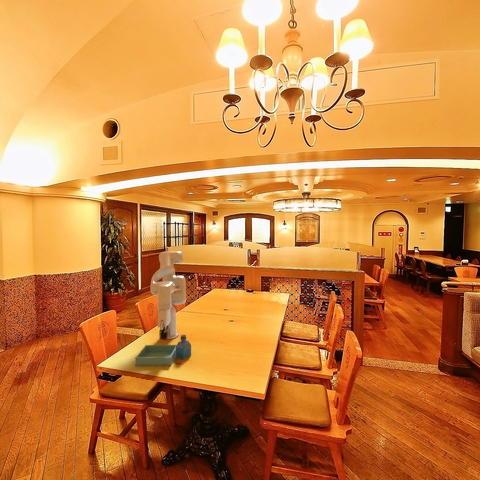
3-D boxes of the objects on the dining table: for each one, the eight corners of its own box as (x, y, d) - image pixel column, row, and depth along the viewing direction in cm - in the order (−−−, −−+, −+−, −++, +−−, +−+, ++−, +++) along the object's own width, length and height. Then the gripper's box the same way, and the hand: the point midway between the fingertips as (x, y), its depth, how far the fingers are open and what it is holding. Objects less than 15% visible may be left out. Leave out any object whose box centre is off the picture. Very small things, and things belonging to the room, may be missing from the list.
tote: (145, 352, 154) (145, 345, 154) (177, 351, 154) (177, 344, 154) (135, 365, 139) (135, 357, 139) (171, 365, 139) (170, 357, 139)
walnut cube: (162, 335, 149) (161, 327, 148) (170, 335, 149) (170, 327, 149) (159, 339, 144) (159, 330, 144) (168, 339, 144) (168, 330, 144)
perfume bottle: (176, 356, 149) (175, 336, 148) (183, 352, 154) (183, 332, 154) (183, 359, 145) (183, 338, 145) (191, 355, 151) (190, 335, 150)
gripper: (162, 301, 154) (163, 331, 155) (153, 310, 137) (153, 343, 138) (174, 301, 154) (175, 331, 155) (166, 310, 137) (167, 343, 138)
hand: (165, 336), depth 146 cm, fingers closed on walnut cube, 5 cm apart
